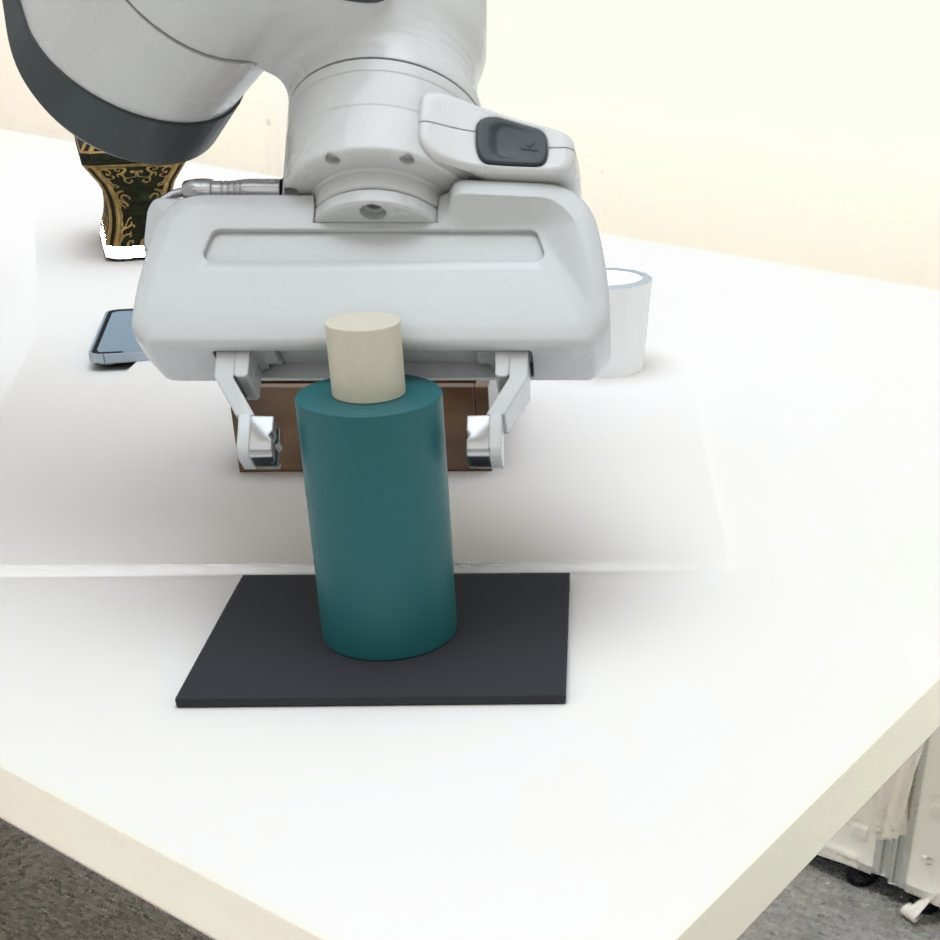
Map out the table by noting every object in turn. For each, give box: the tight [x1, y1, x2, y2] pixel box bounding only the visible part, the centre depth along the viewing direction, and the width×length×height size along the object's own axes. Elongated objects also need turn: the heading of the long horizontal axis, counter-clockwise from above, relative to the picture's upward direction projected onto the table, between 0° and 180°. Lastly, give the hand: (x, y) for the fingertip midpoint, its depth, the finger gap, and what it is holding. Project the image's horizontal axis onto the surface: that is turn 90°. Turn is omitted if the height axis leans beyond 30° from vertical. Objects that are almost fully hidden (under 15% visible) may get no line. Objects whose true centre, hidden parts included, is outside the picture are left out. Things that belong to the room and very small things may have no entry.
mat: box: [174, 572, 571, 708], centre depth 60 cm, size 16×12×1 cm
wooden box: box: [229, 380, 499, 473], centre depth 83 cm, size 15×15×6 cm
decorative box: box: [73, 135, 186, 246], centre depth 132 cm, size 20×10×20 cm, turn 22°
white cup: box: [594, 267, 653, 379], centre depth 95 cm, size 7×7×7 cm
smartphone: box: [87, 307, 150, 366], centre depth 103 cm, size 7×1×15 cm
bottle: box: [295, 312, 457, 661], centre depth 57 cm, size 6×6×14 cm
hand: (372, 463), depth 56 cm, fingers open, 8 cm apart
